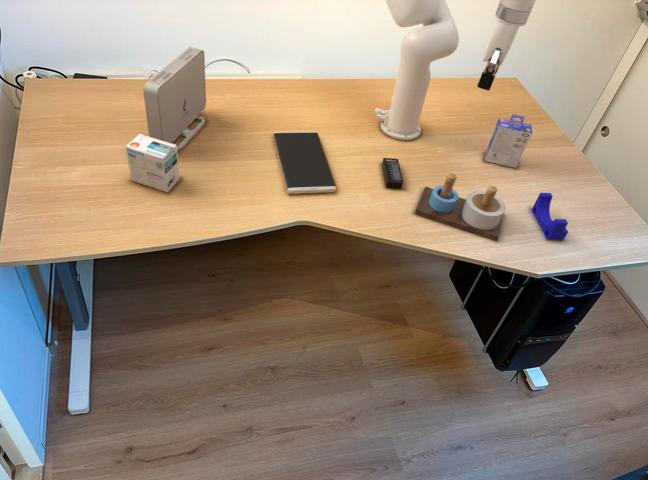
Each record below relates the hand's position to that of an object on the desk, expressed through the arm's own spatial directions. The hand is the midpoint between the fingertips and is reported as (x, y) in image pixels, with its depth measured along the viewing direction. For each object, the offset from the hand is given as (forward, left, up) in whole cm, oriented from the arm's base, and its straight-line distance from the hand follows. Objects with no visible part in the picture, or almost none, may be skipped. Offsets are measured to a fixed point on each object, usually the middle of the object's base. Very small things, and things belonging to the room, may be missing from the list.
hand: (486, 80), depth 141 cm
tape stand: (+5, -21, -28) cm, 35 cm away
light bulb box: (-71, -47, -28) cm, 89 cm away
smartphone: (-40, -21, -28) cm, 53 cm away
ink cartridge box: (+12, +11, -28) cm, 33 cm away
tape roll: (0, -21, -26) cm, 33 cm away
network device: (-77, -25, -28) cm, 85 cm away
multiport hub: (-16, -14, -28) cm, 35 cm away
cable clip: (+28, -13, -28) cm, 42 cm away
